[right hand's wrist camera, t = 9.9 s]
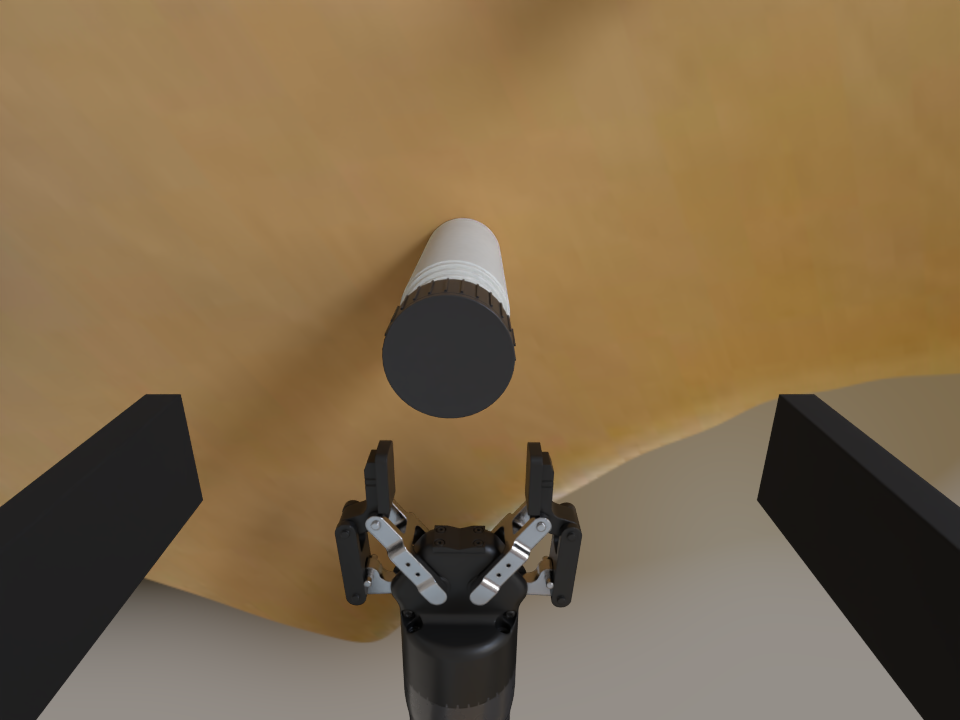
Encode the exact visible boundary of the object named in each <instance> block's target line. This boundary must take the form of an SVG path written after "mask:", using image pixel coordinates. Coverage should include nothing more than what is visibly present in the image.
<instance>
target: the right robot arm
mask: <svg viewBox="0 0 960 720" xmlns="http://www.w3.org/2000/svg"><path fill="white" fill-rule="evenodd" d="M202 501H203V498H202V493H201V488H200V484H199V479H198V474H197V469H196V465H195V460H194V455H193V450H192V446H191V441H190V436H189V431H188V426H187V422H186V417H185V412H184V407H183V403H182V398H181V394H146V395H144V396H143V397H142V398H141V399H139V400H138V401H137V402H135V403H134V404H133V405H131V406H130V407H129V408H128V409H126V410H125V411H124V412H122V413H121V414H120V415H119V416H117V417H116V418H115V419H113V420H112V421H111V422H110V423H108V424H107V425H106V426H104V427H103V428H102V429H101V430H99V431H98V432H97V433H95V434H94V435H93V436H91V437H90V438H89V439H88V440H86V441H85V442H84V443H82V444H81V445H80V446H79V447H77V448H76V449H75V450H73V451H72V452H71V453H70V454H68V455H67V456H66V457H64V458H63V459H62V460H61V461H59V462H58V463H57V464H55V465H54V466H53V467H52V468H50V469H49V470H48V471H46V472H45V473H44V474H42V475H41V476H40V477H39V478H37V479H36V480H35V481H33V482H32V483H31V484H30V485H28V486H27V487H26V488H24V489H23V490H22V491H21V492H19V493H18V494H17V495H15V496H14V497H13V498H12V499H10V500H9V501H8V502H6V503H5V504H4V505H2V506H1V507H0V720H36V719H37V718H38V717H39V715H40V714H41V713H42V712H43V710H44V709H45V708H46V706H47V705H48V704H49V702H50V701H51V700H52V698H53V697H54V696H55V694H56V693H57V692H58V690H59V689H60V688H61V686H62V685H63V684H64V683H65V681H66V680H67V679H68V677H69V676H70V675H71V673H72V672H73V671H74V669H75V668H76V667H77V665H78V664H79V663H80V661H81V660H82V659H83V658H84V656H85V655H86V653H87V652H88V651H89V650H90V648H91V647H92V646H93V644H94V643H95V642H96V640H97V639H98V638H99V636H100V635H101V634H102V632H103V631H104V630H105V628H106V627H107V626H108V625H109V623H110V622H111V621H112V619H113V618H114V617H115V615H116V614H117V613H118V611H119V610H120V609H121V607H122V606H123V605H124V604H125V602H126V601H127V600H128V598H129V597H130V596H131V594H132V593H133V592H134V590H135V589H136V588H137V586H138V585H139V584H140V582H141V581H142V580H143V578H144V577H145V576H146V575H147V573H148V572H149V571H150V569H151V568H152V567H153V565H154V564H155V563H156V561H157V560H158V559H159V557H160V556H161V555H162V553H163V552H164V551H165V550H166V548H167V547H168V546H169V544H170V543H171V542H172V540H173V539H174V538H175V536H176V535H177V534H178V532H179V531H180V530H181V528H182V527H183V526H184V524H185V523H186V522H187V521H188V519H189V518H190V517H191V515H192V514H193V513H194V511H195V510H196V509H197V507H198V506H199V505H200V503H201V502H202ZM757 501H758V502H759V503H760V505H761V506H762V507H763V509H764V510H765V511H766V513H767V514H768V515H769V516H770V518H771V519H772V521H773V522H774V523H775V524H776V526H777V527H778V528H779V530H780V531H781V532H782V534H783V535H784V536H785V538H786V539H787V540H788V542H789V543H790V544H791V546H792V547H793V548H794V550H795V551H796V552H797V553H798V555H799V556H800V557H801V559H802V560H803V561H804V563H805V564H806V565H807V567H808V568H809V569H810V571H811V572H812V573H813V575H814V576H815V577H816V578H817V580H818V581H819V582H820V584H821V585H822V586H823V588H824V589H825V590H826V592H827V593H828V594H829V596H830V597H831V598H832V600H833V601H834V602H835V603H836V605H837V606H838V607H839V609H840V610H841V611H842V613H843V614H844V615H845V617H846V618H847V619H848V621H849V622H850V623H851V624H852V626H853V627H854V629H855V630H856V631H857V632H858V634H859V635H860V636H861V638H862V639H863V640H864V642H865V643H866V644H867V646H868V647H869V648H870V650H871V651H872V652H873V653H874V655H875V656H876V658H877V659H878V660H879V661H880V663H881V664H882V665H883V667H884V668H885V669H886V671H887V672H888V673H889V675H890V676H891V677H892V679H893V680H894V681H895V682H896V684H897V685H898V686H899V688H900V689H901V690H902V692H903V693H904V694H905V696H906V697H907V698H908V700H909V701H910V702H911V703H912V705H913V706H914V708H915V709H916V710H917V712H918V713H919V714H920V715H921V717H922V718H923V719H924V720H960V507H959V506H957V505H956V504H955V503H954V502H952V501H951V500H950V499H948V498H947V497H946V496H945V495H943V494H942V493H941V492H939V491H938V490H937V489H936V488H934V487H933V486H932V485H930V484H929V483H928V482H927V481H925V480H924V479H923V478H921V477H920V476H919V475H918V474H916V473H915V472H914V471H912V470H911V469H910V468H908V467H907V466H906V465H905V464H903V463H902V462H901V461H899V460H898V459H897V458H896V457H894V456H893V455H892V454H890V453H889V452H888V451H887V450H885V449H884V448H883V447H881V446H880V445H879V444H878V443H876V442H875V441H874V440H872V439H871V438H870V437H868V436H867V435H866V434H865V433H863V432H862V431H861V430H859V429H858V428H857V427H856V426H854V425H853V424H852V423H850V422H849V421H848V420H847V419H845V418H844V417H843V416H841V415H840V414H839V413H837V412H836V411H835V410H834V409H832V408H831V407H830V406H828V405H827V404H826V403H825V402H823V401H822V400H821V399H819V398H818V397H817V396H816V395H814V394H779V398H778V403H777V408H776V412H775V417H774V422H773V427H772V431H771V436H770V441H769V446H768V451H767V455H766V460H765V465H764V469H763V474H762V479H761V484H760V489H759V493H758V498H757Z"/></svg>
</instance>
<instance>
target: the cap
mask: <svg viewBox="0 0 960 720" xmlns="http://www.w3.org/2000/svg"><path fill="white" fill-rule="evenodd" d="M385 336H386V337H385V339H384V344H383V348H382V350H383V352H382V359H383V367H384V371H385V374H386V377H387V379H388V381H389V383H390V385H391V387H392V388H393V390H394V391H395V392H396V394H397V395H398V396H399V397H400V398H401V399H402V400H403V401H404V402H406V403H407V404H408V405H409V406H411V407H412V408H414V409H416V410H418V411H420V412H422V413H424V414H427V415H430V416H434V417H440V418H460V417H465V416H469V415H473V414H475V413H478V412H480V411H482V410H484V409H486V408H487V407H488V406H490V405H491V404H493V403H494V402H495V401H496V400H497V399H498V398H499V397H500V396H501V395H502V393H503V392H504V391H505V389H506V388H507V386H508V384H509V382H510V380H511V377H512V374H513V371H514V365H515V361H516V357H515V351H514V346H516V345H515V339H514V333H513V329H511V323H510V317H509V315H507V314H506V311H505V310H504V308H503V305H502V303H501V302H499V301H498V300H497V299H496V298H495V297H494V296H493V295H492V292H488V291H487V290H486V289H484V288H482V287H480V286H479V284H477V285H476V284H474V283H471V282H468V281H465V279H462V280H458V279H449V278H447V279H443V280H437V281H434V280H432V281H431V282H430V283H427V284H425V285H423V286H421V287H420V286H418V287H417V289H416V290H414V291H413V292H412V293H411V294H409V295H406V297H405V299H404V301H403V302H402V304H401V305H400V306H398V307H397V309H396V311H395V313H394V315H393V317H392V319H391V322H390V324H389V326H388V328H387V330H386V332H385Z"/></svg>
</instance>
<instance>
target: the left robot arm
mask: <svg viewBox="0 0 960 720" xmlns="http://www.w3.org/2000/svg"><path fill="white" fill-rule="evenodd" d="M364 475H365V489H366V500H365V501H362V502H359V501H356V500H350V501H348V502H346V504H345V505H344V508H343V513H342V516H341V519H340V521H339V523H338V525H337V528H336V530H335V537H336V543H337V548H338V554H339V560H340V565H341V571H342V577H343V582H344V588H345V594H346V599H347V601H348V602H349V603H350V604H353V605H361V604H363V603H364V602H365V601H366V597H367V594H385V593H392V595H393V597H394V598H395V599H396V601H397V602H398V604H399V606H400V615H401V634H402V653H403V672H404V690H405V697H406V702H407V707H408V710H409V715H410V720H509V719H510V709H511V705H512V701H513V697H514V688H515V670H516V650H517V629H518V609H519V605H520V603H521V602H522V601H523V599H524V598H525V596H526V595H527V594H529V595H547V596H551V600H552V603H553V605H555V606H556V607H565V606H567V605H569V604H570V602H571V598H572V592H573V586H574V580H575V574H576V568H577V563H578V557H579V551H580V545H581V539H582V533H581V529H580V525H579V521H578V517H577V513H576V509H575V507H574V506H573V505H572V504H571V503H562V504H557V503H554V502H553V501H552V493H553V479H554V471H553V466H552V462H551V458H550V456H549V453H548V452H542V451H541V446H540V442H528V444H527V462H526V484H525V496H526V501H525V502H524V503H523V504H522V505H521V506H520V507H519V508H518V509H517V510H516V511H515V512H514V513H513V514H511V513H509V514H507V515H506V516H505V517H504V518H503V519H502V520H501V521H500V522H499V524H498V525H497V526H496V527H495V528H494V529H493V530H492V531H491V532H490V531H488V530H485V526H469V527H465V528H456V527H451V526H439V525H435V528H434V530H430V531H429V530H428V529H427V528H426V527H425V525H424V524H423V523H422V522H421V521H420V520H419V519H418V518H417V517H416V516H415V515H414V514H413V513H411V512H409V513H407V512H406V511H405V510H404V509H403V508H402V507H401V506H400V505H399V504H398V503H397V502H396V501H395V500H394V495H395V475H394V456H393V441H391V440H380V441H379V444H378V447H377V450H371V452H370V455H369V458H368V461H367V464H366V466H365V469H364ZM368 531H369V532H370V533H371V534H372V535H373V536H374V537H375V538H376V539H377V540H378V541H379V542H380V543H381V544H382V545H383V546H384V547H385V548H386V550H387V553H388V557H389V559H390V560H391V561H392V562H393V563H394V564H395V565H396V566H395V568H394V570H393V571H387V570H385V569H384V568H383V567H382V564H381V562H380V561H379V560H378V556H377V555H375V554H373V555H371V554H370V547H369V540H368V534H367V532H368ZM548 533H550V534H553V535H552V542H551V548H550V555H549V557H548V556H544V557H543V558H542V561H541V562H540V563H539V564H538V567H537V568H536V570H534V571H533V572H529V573H526V570H525V568H524V567H523V566H522V565H523V564H524V563H525V562H526V561H527V559H528V557H529V554H530V551H531V550H532V548H533V547H534V546H536V545H537V544H538V543H539V542H540V541H541V540H542V539H543V538H544V537H545V536H546V535H547V534H548Z"/></svg>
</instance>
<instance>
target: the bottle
mask: <svg viewBox="0 0 960 720" xmlns="http://www.w3.org/2000/svg"><path fill="white" fill-rule="evenodd" d="M447 278H449V279H458V280H462V279H465V281H468V282H471V283H474V284H476V285H477V284H479V286H480V287H482V288H484V289H486V290H487V291H488V292H492V295H493V296H494V297H495V298H496V299H497V300H498V301H499V302H501V303H502V305H503V308H504V310H505V311H506V314H507V315H509V317H510V307H509V300H508V294H507V288H506V282H505V276H504V270H503V264H502V259H501V253H500V247H499V244H498V241H497V239H496V237H495V235H494V234H493V233H492V231H491V230H490V229H489V228H488V227H486V226H485V225H484V224H482V223H480V222H478V221H476V220H473V219H468V218H457V219H453V220H449V221H447V222H445V223H443V224H442V225H440V226H439V227H438V228H437V229H436V230H435V231H434V232H433V234H432V235H431V237H430V239H429V240H428V243H427V245H426V247H425V249H424V251H423V253H422V255H421V257H420V259H419V261H418V263H417V265H416V268H415V270H414V272H413V274H412V276H411V278H410V280H409V282H408V284H407V286H406V288H405V291H404V293H403V296H402V299H401V304H402V302H403V301H404V299H405V297H406V295H409V294H411V293H412V292H413V291H414V290H416V289H417V287H418V286H420V287H421V286H423V285H425V284H427V283H430V282H431V281H432V280H434V281H437V280H443V279H447ZM401 304H400V305H401Z"/></svg>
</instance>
